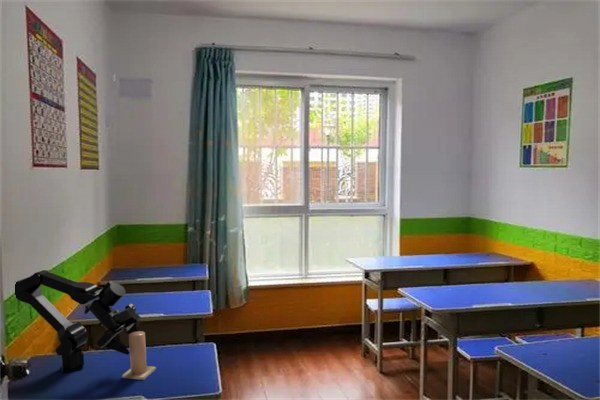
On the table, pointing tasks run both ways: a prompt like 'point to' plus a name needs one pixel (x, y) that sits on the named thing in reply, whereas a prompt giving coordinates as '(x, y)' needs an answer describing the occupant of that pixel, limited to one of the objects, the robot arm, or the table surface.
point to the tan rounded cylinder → (137, 352)
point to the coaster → (139, 376)
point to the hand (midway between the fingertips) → (136, 348)
